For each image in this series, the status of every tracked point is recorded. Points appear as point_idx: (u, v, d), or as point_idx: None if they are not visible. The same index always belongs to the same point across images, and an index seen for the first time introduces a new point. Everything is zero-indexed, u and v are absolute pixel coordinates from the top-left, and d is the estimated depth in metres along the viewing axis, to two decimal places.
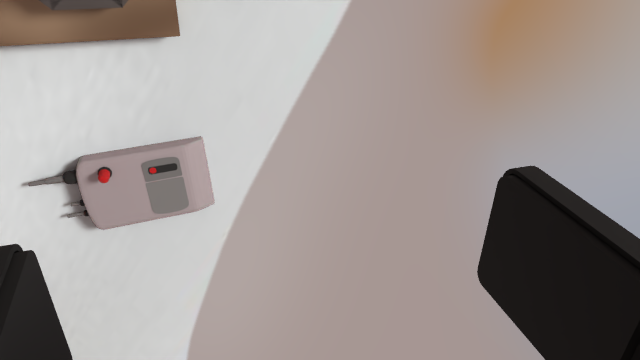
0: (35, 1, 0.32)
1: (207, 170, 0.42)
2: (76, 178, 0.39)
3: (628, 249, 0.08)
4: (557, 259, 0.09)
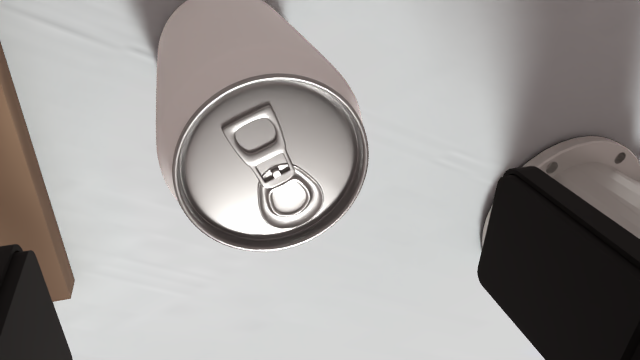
0: None
1: None
2: None
3: (628, 249, 0.08)
4: (557, 259, 0.09)
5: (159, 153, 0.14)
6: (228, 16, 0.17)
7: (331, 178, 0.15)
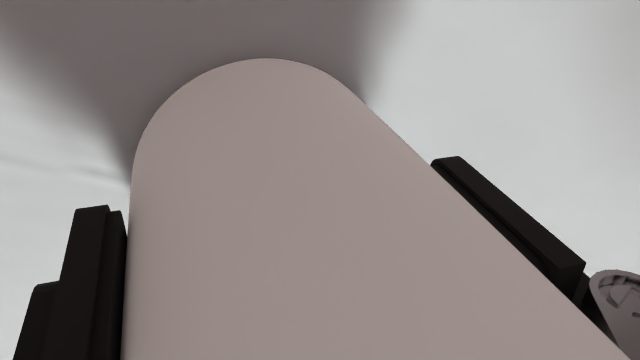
0: None
1: None
2: None
3: (526, 233, 0.08)
4: None
5: None
6: (315, 201, 0.06)
7: None
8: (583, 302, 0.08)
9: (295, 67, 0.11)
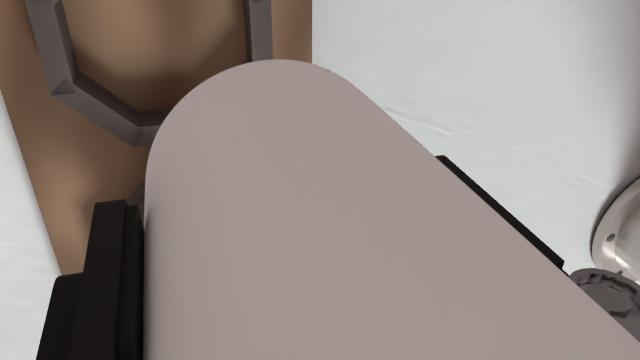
0: None
1: None
2: None
3: None
4: None
5: None
6: (340, 195, 0.06)
7: None
8: None
9: (309, 68, 0.11)
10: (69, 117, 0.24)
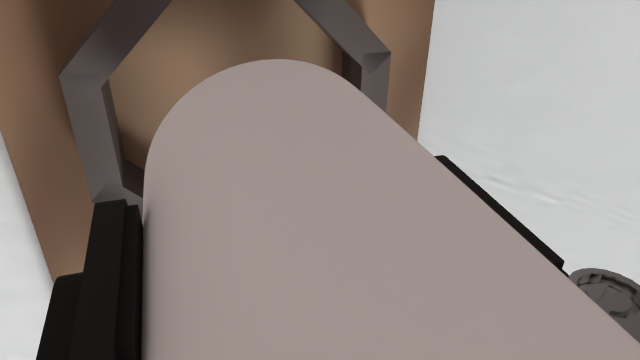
0: None
1: None
2: None
3: None
4: None
5: None
6: (338, 195, 0.06)
7: None
8: None
9: (308, 68, 0.11)
10: None
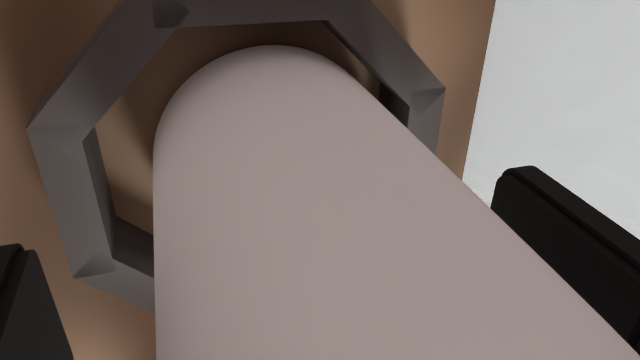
0: None
1: None
2: None
3: (626, 249, 0.08)
4: (555, 259, 0.09)
5: None
6: (321, 162, 0.07)
7: None
8: None
9: (301, 53, 0.12)
10: None
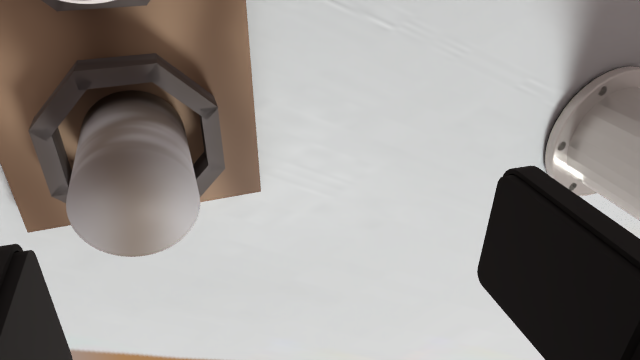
0: (31, 95, 0.27)
1: None
2: None
3: (628, 249, 0.08)
4: (557, 259, 0.09)
5: None
6: None
7: None
8: None
9: None
10: None
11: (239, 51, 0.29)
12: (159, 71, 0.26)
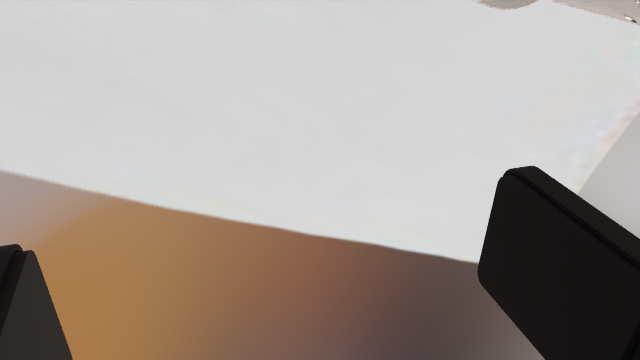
0: None
1: None
2: None
3: (628, 249, 0.08)
4: (557, 259, 0.09)
5: None
6: None
7: None
8: None
9: None
10: None
11: None
12: None
